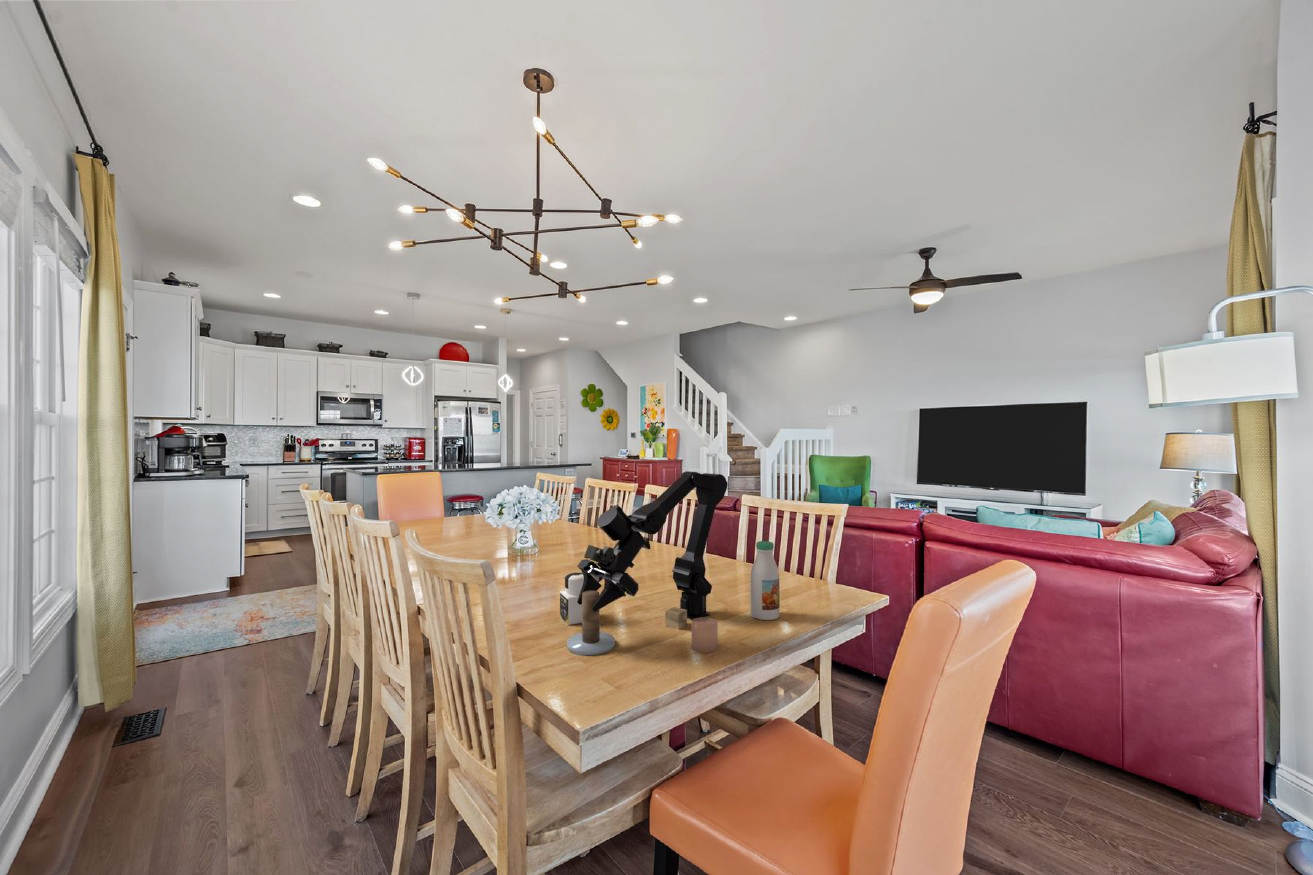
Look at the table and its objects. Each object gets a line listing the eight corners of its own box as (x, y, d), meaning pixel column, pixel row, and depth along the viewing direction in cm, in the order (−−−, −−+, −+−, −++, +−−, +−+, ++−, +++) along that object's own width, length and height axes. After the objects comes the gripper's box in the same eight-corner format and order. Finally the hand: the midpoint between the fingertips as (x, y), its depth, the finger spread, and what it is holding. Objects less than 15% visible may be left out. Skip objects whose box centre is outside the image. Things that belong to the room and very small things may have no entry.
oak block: (673, 622, 138) (673, 606, 138) (686, 625, 136) (686, 609, 136) (665, 626, 135) (665, 611, 135) (678, 630, 132) (678, 614, 132)
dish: (600, 633, 130) (600, 628, 130) (623, 647, 121) (623, 642, 121) (559, 643, 124) (559, 637, 124) (580, 659, 115) (580, 653, 115)
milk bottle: (750, 620, 139) (750, 544, 139) (750, 610, 147) (750, 539, 146) (780, 621, 138) (780, 545, 138) (778, 612, 145) (778, 539, 145)
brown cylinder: (599, 636, 125) (598, 590, 125) (600, 642, 121) (599, 595, 121) (582, 637, 124) (581, 591, 124) (582, 644, 120) (582, 596, 120)
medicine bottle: (559, 617, 142) (559, 572, 142) (584, 612, 145) (584, 569, 145) (567, 625, 135) (567, 579, 135) (593, 621, 139) (593, 575, 138)
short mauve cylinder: (706, 640, 125) (706, 615, 125) (723, 649, 120) (723, 623, 120) (686, 646, 122) (686, 620, 122) (702, 655, 117) (702, 628, 117)
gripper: (584, 526, 132) (544, 578, 125) (628, 537, 118) (586, 596, 111) (610, 553, 137) (573, 604, 130) (655, 567, 123) (616, 625, 116)
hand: (585, 607), depth 121 cm, fingers open, 6 cm apart
